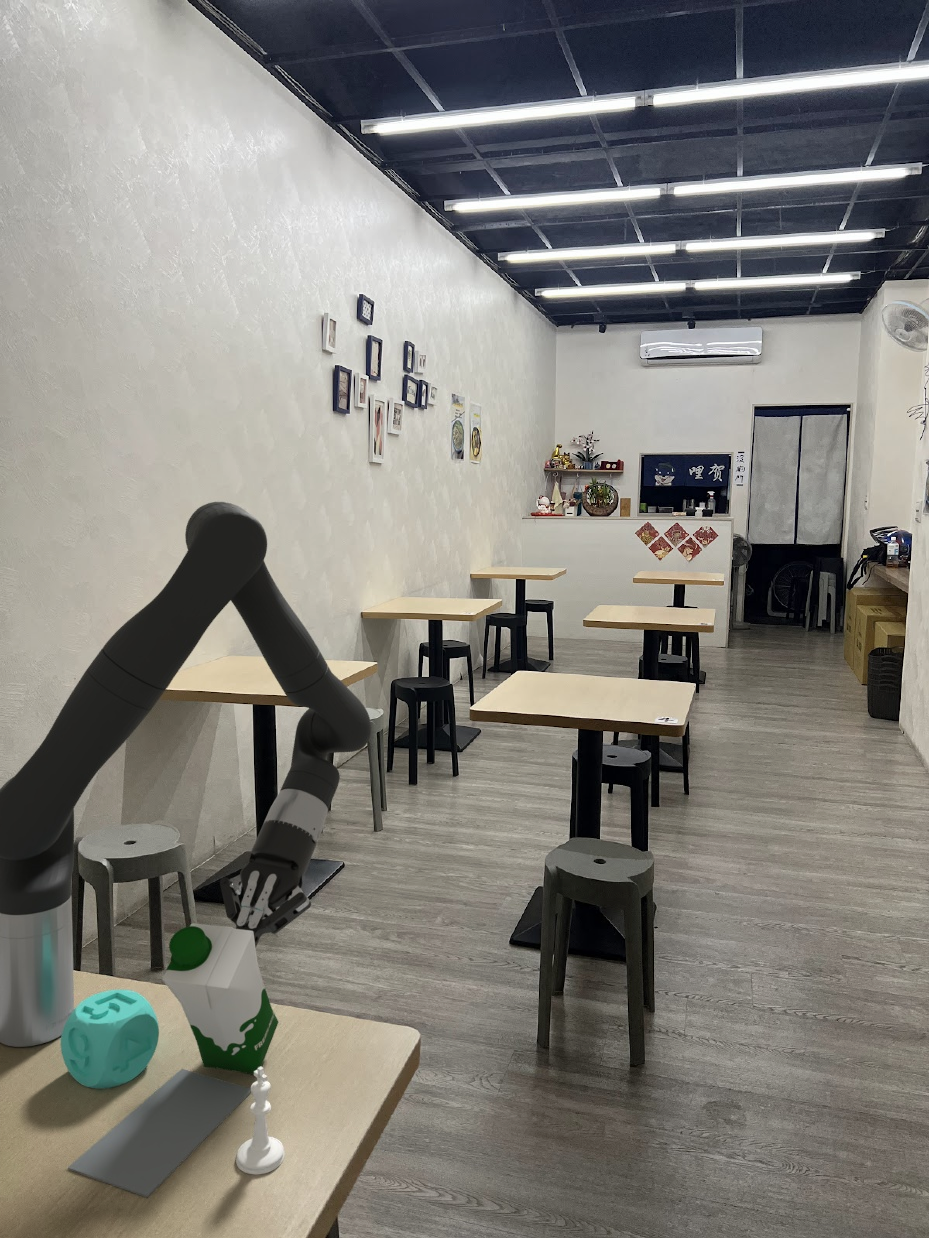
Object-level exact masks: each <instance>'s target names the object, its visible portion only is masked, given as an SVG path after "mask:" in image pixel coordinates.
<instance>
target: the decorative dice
mask: <svg viewBox="0 0 929 1238" xmlns="http://www.w3.org/2000/svg"><path fill="white" fill-rule="evenodd" d="M159 1036H160V1028H159V1022H158V1017H157V1014H156V1012H155V1010H154V1008H153V1006H152V1005H151V1003H150V1002H149V1001H148V999H146V998H145V997H144V996H143V995H141V994H140V993H139V992H137V991H133V990H131V989H130V990H129V989H112V990H111V989H110V990H105V991H101V992H98V993H96V994H92V995H91V996H88V997H86V998H85V999H83V1000H82V1001H81V1002H80V1003H79V1004H77V1006H76V1007H74V1010H73V1012H72V1013H71V1014H70V1016H69V1018H68V1019H67V1021H66V1024H65V1026H64V1029H63V1032H62V1035H61V1036H60V1050H61V1055H62V1059H63V1061H64V1064H65V1067H66V1069H67V1070H68V1072H69V1074H70V1076H72V1077H73V1078H74V1080H75V1081H76V1082H78V1083H79V1084H81V1085H83V1086H84V1087H86V1088H91V1089H98V1090H99V1089H100V1090H101V1089H109V1088H111V1089H112V1088H114V1087H118V1086H122V1085H124V1084H126V1083H128V1082H130V1081H133V1080H134V1079H135V1078H137V1076H139V1075H140V1074H141V1073H142V1072H143V1070H145V1068H147V1066H148V1065H149V1063H150V1062H151V1060H152V1058H153V1056H154V1055H155V1052H156V1050H157V1047H158V1042H159V1038H160V1037H159Z"/></svg>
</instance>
